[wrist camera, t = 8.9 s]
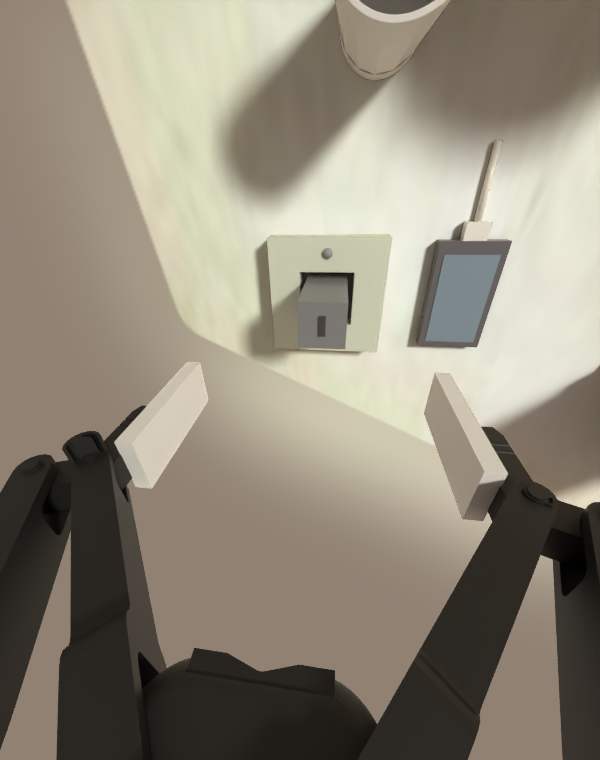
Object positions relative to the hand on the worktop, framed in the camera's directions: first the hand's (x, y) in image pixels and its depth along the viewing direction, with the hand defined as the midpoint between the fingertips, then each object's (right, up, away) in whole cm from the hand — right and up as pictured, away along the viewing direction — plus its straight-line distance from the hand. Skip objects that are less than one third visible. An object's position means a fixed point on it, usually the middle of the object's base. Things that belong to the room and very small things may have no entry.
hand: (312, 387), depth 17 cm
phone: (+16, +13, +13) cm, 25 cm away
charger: (+2, +10, +17) cm, 20 cm away
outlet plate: (+2, +10, +17) cm, 20 cm away
